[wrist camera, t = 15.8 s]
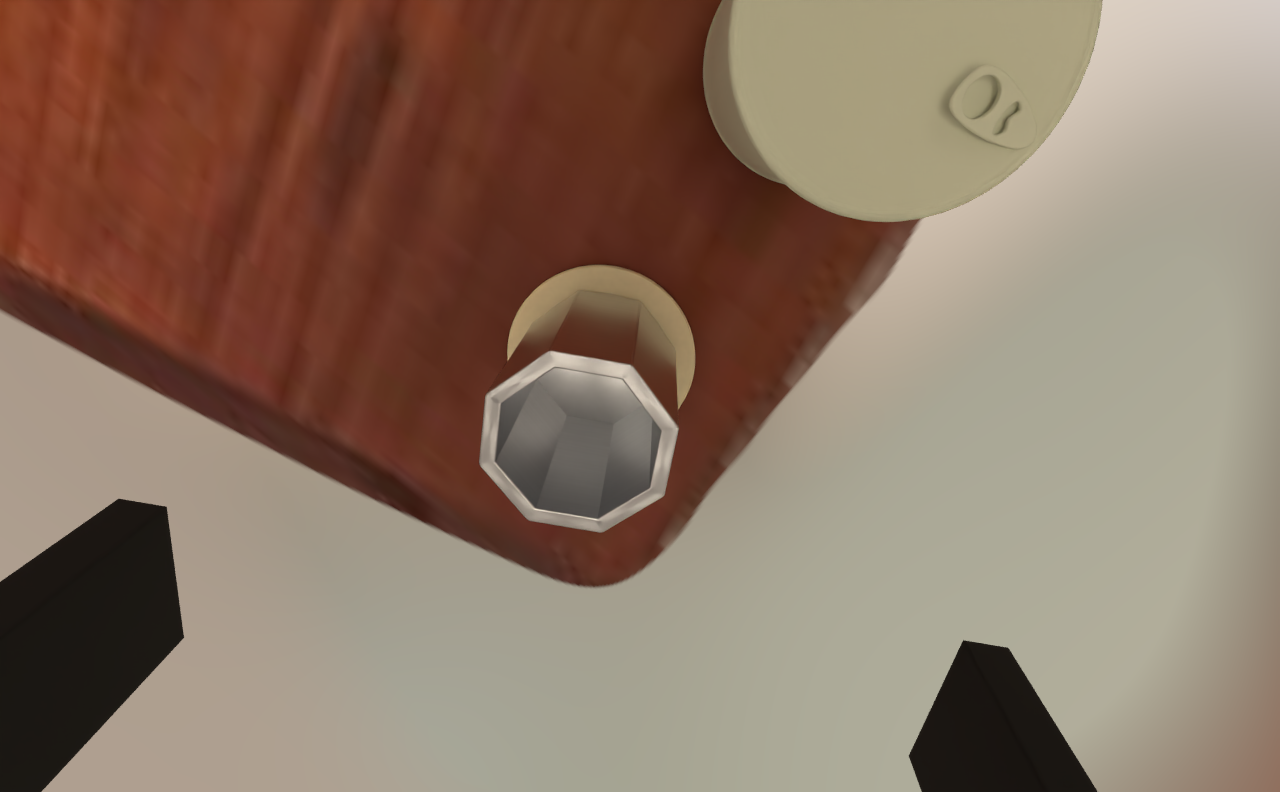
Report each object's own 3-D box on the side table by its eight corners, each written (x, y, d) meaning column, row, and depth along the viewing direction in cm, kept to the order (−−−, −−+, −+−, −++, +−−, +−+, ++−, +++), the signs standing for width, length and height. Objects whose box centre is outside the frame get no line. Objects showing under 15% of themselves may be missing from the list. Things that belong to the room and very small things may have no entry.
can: (827, 229, 30) (923, 294, 19) (658, 98, 28) (652, 84, 17) (982, 36, 27) (1207, -24, 16) (803, -125, 25) (912, -320, 14)
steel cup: (537, 280, 31) (489, 339, 22) (683, 306, 31) (690, 375, 23) (521, 413, 33) (474, 512, 25) (657, 437, 33) (654, 542, 25)
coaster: (519, 248, 31) (517, 249, 30) (713, 283, 31) (713, 285, 30) (500, 424, 34) (498, 428, 34) (675, 455, 34) (675, 458, 34)
